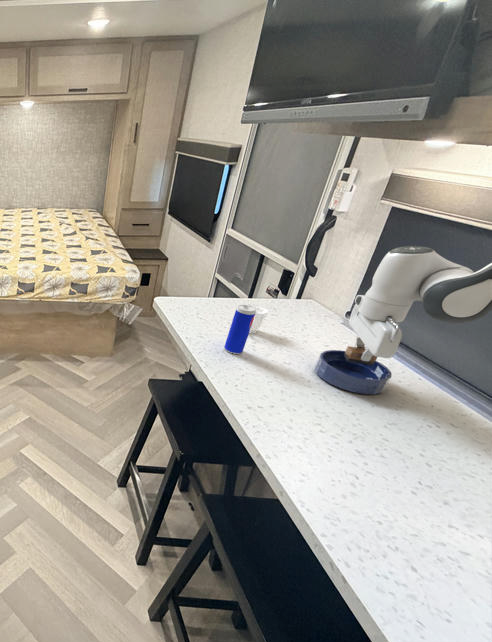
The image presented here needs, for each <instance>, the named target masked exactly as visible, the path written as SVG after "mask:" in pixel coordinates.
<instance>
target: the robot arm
mask: <svg viewBox="0 0 492 642" xmlns="http://www.w3.org/2000/svg"><path fill="white" fill-rule="evenodd" d="M371 283H372V284H371V285H370V288H369V289H368V290H367V291H366V292H365V294H357V295H356V297H355V299H354V303H355V304H354V306H353V308H352V310H351V313H350V316H349V321H348V323H349V324H348V325H349V326H350V327H351V329H352V330H353V331H354V333H356V336H355V344H354V346H353V347H357V348H363V349H366V350H365V351H364V352H362V353H361V355H360V358H361V360H362V361H370V359H371V357H372V356H376V357H377V358H383V359H392V358H393V357H394V356H395V354H396V353H397V350H398V347H399V345H400V343H401V340H402V336H403V331H402V329H401V328H400V324H399V323H402V322H404V321H405V319H406V317H407V315H408V313H409V311H410V309H411V308H412V306H413V303H414V302H416V301H419V302H422V305H423V310H424V311H425V313H426V314H427V315H428V316H430V317H431V318H433V319H434V320H437V321H440V322H442V323H447V324H465V323H470V322H474V321H477V320H479V319H481V318H484V317H485V316H486V315H488V314H490V312H491V311H492V262H491V263H488V264H487V265H486V266H484V267H482V268H481V269H479V270H477V271H473V270H472V269H471V268H469V267H467V266H464V265H461V264H458V263H456V262H453V261H450V260H448V259H446V258H444V257H443V256H441V255H440V254H439V253H437V252H436V251H435V250H434V248H431V247H427V246H419V245H406V246H400V247H395V248H393V249H391V250H389V251H388V252H387V253H386V254H385V255H384V257H383V258H382V259H381V262H380V263H379V265H378V266H377V268H376V270H375V272H374V274H373V277H372V281H371Z"/></svg>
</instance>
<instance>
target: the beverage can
mask: <svg viewBox="0 0 492 642" xmlns="http://www.w3.org/2000/svg"><path fill="white" fill-rule="evenodd" d="M248 305H249V304H248ZM248 305H247V304H239V305H238V306H236V309H235V312H234V314H233V318H232V321H231V324H230V327H229V330H228V333H227V337H226V340H225V342H224V350H225V351H226V352H227V351H228V352H227V353H229V352H230V353H229V354H232V353H233V354H232V355H240V354H242V353H243V352H244V349H245V347H246V343H247V340H248V338H249V334H250V333H249V332H250V329H251V326H252V323H253V320H254V317H255V314H256V309H255V308H254V307H252V306H248Z"/></svg>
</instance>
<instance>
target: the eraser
mask: <svg viewBox="0 0 492 642" xmlns="http://www.w3.org/2000/svg"><path fill="white" fill-rule="evenodd" d="M365 350H366V349H363V348H357V347H354V346H349V345H348V346H347V347H346V350H344V351H345V354H344V357H345V358H346V360H347V361H348V362H354V363H360V364H366V365H374V363H375V361H377V359H378V357H376V356H372V357H371V359H370V361H362V360H361V358H360V355H361V353H362V352H364V351H365Z"/></svg>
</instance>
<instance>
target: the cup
mask: <svg viewBox="0 0 492 642" xmlns="http://www.w3.org/2000/svg"><path fill="white" fill-rule="evenodd" d="M248 306H252V307H254V308H255V309H256V314H255V317H254V320H253V323H252V326H251V329H250V332H249V334H256V333H257V331H258V329H260V327H261V326H262V324H263V323H264V320H265V319H266V317H267V315H268V313H269V311H268V310H267V308H265V307H262V306H259V305H252V304H248Z"/></svg>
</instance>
